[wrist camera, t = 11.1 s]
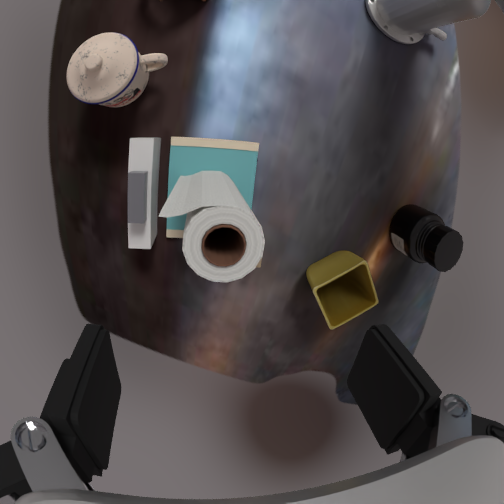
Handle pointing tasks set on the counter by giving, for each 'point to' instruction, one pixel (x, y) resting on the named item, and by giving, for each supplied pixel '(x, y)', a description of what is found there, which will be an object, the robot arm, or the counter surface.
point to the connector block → (143, 191)
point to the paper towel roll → (216, 226)
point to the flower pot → (342, 287)
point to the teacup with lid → (110, 70)
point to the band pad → (211, 167)
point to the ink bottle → (425, 237)
